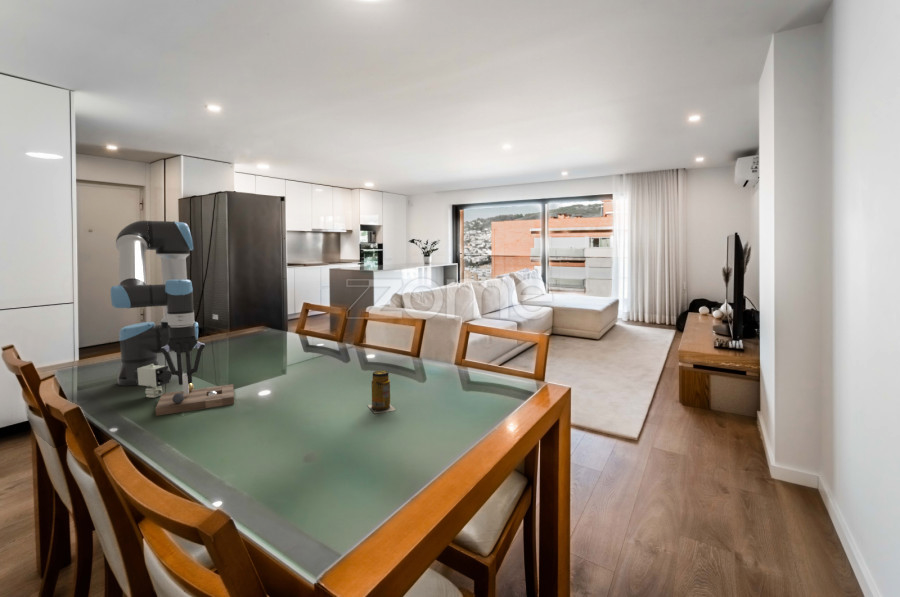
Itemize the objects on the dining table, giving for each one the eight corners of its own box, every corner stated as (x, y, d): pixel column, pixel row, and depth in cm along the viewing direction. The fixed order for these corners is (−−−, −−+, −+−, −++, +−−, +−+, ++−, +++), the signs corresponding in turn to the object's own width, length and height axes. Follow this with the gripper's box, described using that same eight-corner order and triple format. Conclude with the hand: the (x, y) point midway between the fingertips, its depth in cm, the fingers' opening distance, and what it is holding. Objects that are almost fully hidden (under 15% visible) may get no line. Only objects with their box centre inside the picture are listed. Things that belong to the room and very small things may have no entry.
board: (162, 400, 144) (162, 393, 144) (233, 390, 155) (233, 384, 154) (155, 415, 130) (155, 408, 130) (234, 403, 141) (233, 396, 140)
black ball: (173, 402, 135) (172, 392, 135) (184, 400, 137) (184, 391, 136) (172, 405, 132) (171, 395, 132) (183, 403, 134) (183, 394, 133)
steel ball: (205, 396, 144) (211, 388, 145) (214, 400, 146) (219, 392, 147) (205, 399, 142) (211, 391, 142) (214, 403, 143) (220, 395, 144)
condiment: (388, 402, 142) (387, 368, 141) (396, 410, 134) (395, 374, 133) (367, 405, 139) (366, 371, 137) (374, 414, 131) (373, 377, 130)
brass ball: (183, 391, 147) (183, 382, 146) (194, 389, 148) (193, 381, 148) (183, 393, 144) (182, 384, 143) (193, 392, 145) (193, 383, 145)
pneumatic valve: (162, 399, 145) (159, 366, 144) (134, 397, 147) (132, 364, 146) (175, 394, 150) (173, 362, 149) (149, 392, 153) (146, 361, 151)
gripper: (156, 328, 132) (162, 399, 134) (203, 325, 138) (208, 393, 141) (159, 325, 138) (164, 393, 141) (204, 322, 145) (208, 387, 147)
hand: (186, 393), depth 141 cm, fingers closed
